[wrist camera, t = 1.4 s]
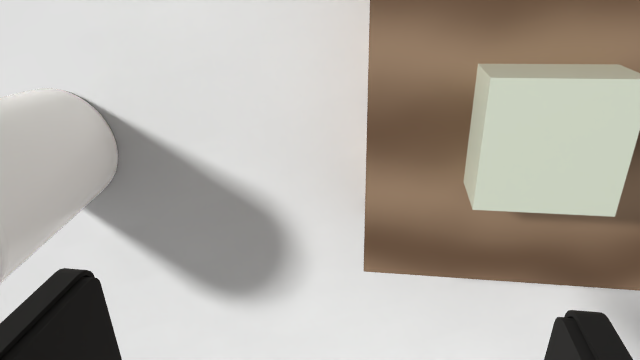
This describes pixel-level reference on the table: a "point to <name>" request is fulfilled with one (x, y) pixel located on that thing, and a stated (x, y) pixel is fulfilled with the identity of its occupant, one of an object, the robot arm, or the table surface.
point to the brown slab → (453, 135)
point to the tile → (552, 137)
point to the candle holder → (48, 167)
